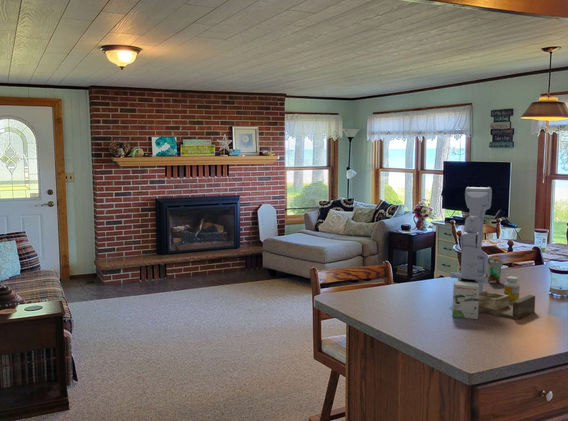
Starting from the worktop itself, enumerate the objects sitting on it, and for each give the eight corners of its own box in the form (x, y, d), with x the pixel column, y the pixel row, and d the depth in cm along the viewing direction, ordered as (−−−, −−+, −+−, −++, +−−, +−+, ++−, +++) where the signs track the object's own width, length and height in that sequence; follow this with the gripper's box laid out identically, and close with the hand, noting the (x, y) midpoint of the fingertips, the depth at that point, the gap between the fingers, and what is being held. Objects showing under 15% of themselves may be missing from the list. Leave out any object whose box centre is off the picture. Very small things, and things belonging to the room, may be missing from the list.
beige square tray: (474, 305, 202) (474, 295, 202) (485, 301, 208) (485, 291, 208) (497, 310, 196) (498, 299, 195) (508, 305, 202) (509, 295, 202)
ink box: (452, 317, 191) (453, 283, 190) (452, 313, 196) (453, 280, 195) (478, 319, 189) (479, 285, 188) (477, 315, 194) (478, 282, 192)
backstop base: (465, 308, 202) (466, 292, 201) (483, 302, 212) (483, 286, 211) (518, 319, 188) (519, 302, 188) (534, 312, 198) (535, 295, 197)
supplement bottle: (501, 300, 214) (502, 276, 213) (514, 300, 215) (515, 275, 214) (508, 304, 209) (509, 279, 208) (521, 303, 209) (522, 278, 209)
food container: (504, 285, 240) (505, 263, 239) (489, 285, 241) (490, 262, 240) (499, 279, 252) (500, 258, 251) (485, 279, 253) (486, 257, 252)
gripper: (446, 262, 210) (445, 297, 211) (482, 267, 199) (481, 304, 201) (455, 260, 215) (454, 294, 216) (491, 265, 204) (490, 301, 205)
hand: (468, 298), depth 208 cm, fingers closed
